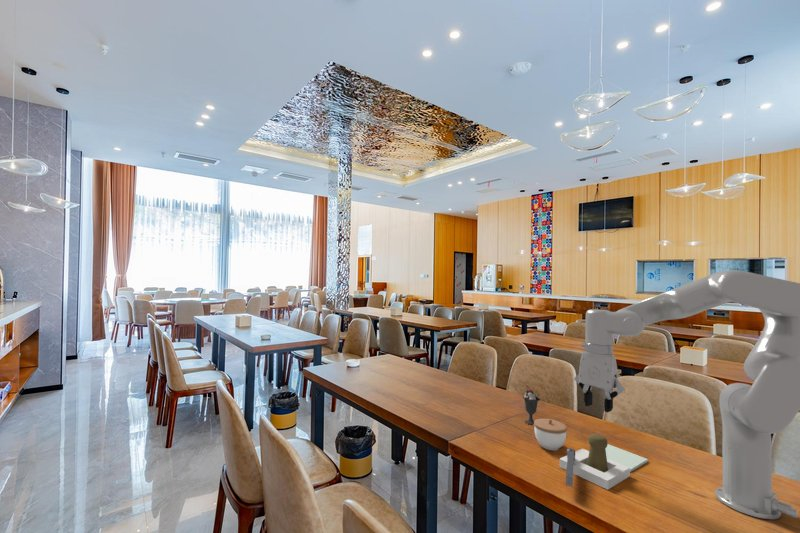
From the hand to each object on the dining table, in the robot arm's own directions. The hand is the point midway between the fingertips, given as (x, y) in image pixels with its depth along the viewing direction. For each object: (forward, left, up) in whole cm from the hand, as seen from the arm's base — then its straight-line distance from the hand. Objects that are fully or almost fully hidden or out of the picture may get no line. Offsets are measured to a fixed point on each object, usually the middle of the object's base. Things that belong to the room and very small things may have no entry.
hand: (598, 407), depth 111 cm
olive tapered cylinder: (0, 0, -20) cm, 20 cm away
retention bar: (+2, +12, -17) cm, 20 cm away
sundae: (+35, -16, -20) cm, 43 cm away
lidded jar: (+18, -3, -20) cm, 27 cm away
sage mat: (+1, -15, -19) cm, 25 cm away
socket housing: (+1, +1, -19) cm, 19 cm away
